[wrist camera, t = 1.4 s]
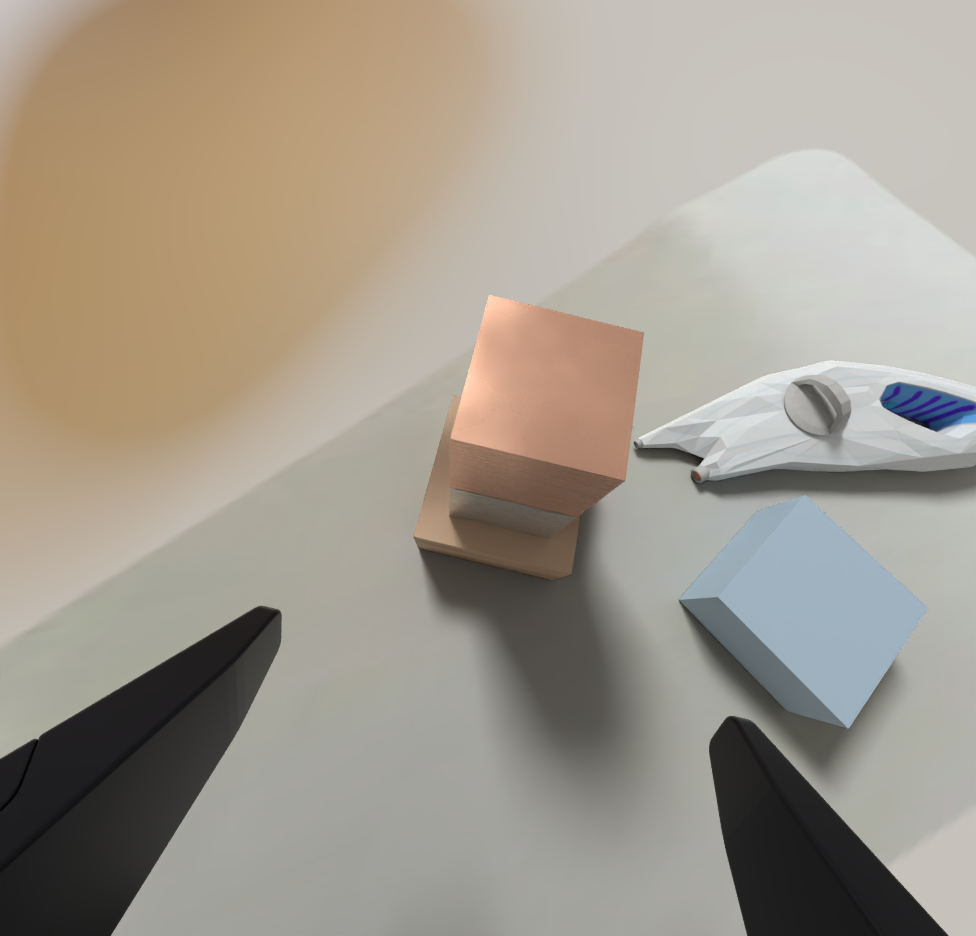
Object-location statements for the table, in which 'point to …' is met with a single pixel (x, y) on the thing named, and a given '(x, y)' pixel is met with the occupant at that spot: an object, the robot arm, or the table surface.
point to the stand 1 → (486, 528)
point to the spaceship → (829, 423)
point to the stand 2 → (805, 611)
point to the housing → (542, 418)
